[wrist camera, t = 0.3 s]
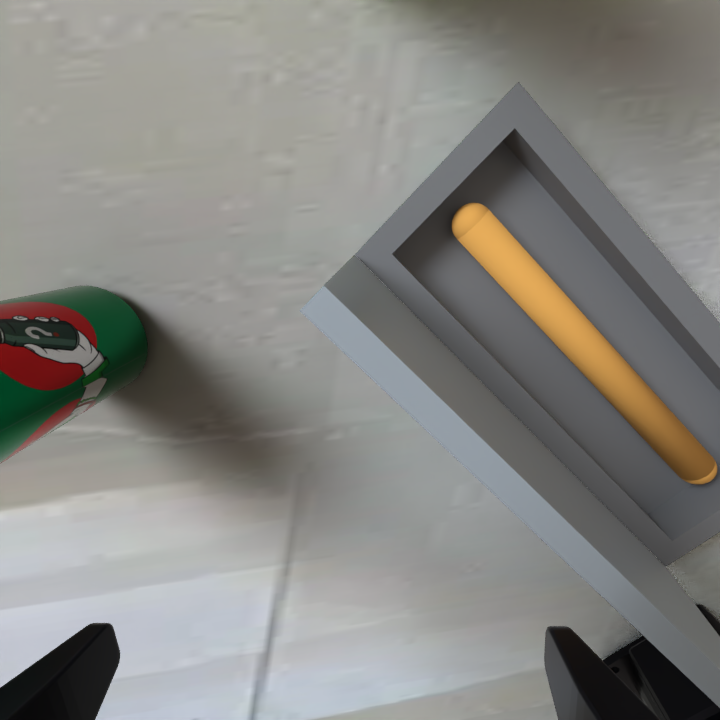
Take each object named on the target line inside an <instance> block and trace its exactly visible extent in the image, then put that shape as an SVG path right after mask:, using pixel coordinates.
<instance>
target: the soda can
mask: <svg viewBox="0 0 720 720" xmlns="http://www.w3.org/2000/svg"><path fill="white" fill-rule="evenodd" d="M147 351H148V344H147V338H146V334H145V331H144V328H143V325H142V323H141V321H140V319H139V318H138V316H137V315H136V313H135V312H134V311H133V310H132V308H131V307H130V306H129V305H128V304H127V303H126V302H124V301H123V300H122V299H121V298H119V297H118V296H116V295H115V294H113V293H111V292H109V291H107V290H104V289H101V288H98V287H93V286H75V287H70V288H65V289H59V290H54V291H49V292H44V293H39V294H34V295H29V296H24V297H18V298H13V299H8V300H3V301H0V463H2V462H4V461H5V460H7V459H9V458H10V457H12V456H13V455H15V454H17V453H18V452H20V451H21V450H23V449H25V448H26V447H28V446H30V445H31V444H33V443H34V442H36V441H38V440H39V439H41V438H43V437H44V436H46V435H47V434H49V433H51V432H52V431H54V430H55V429H57V428H59V427H60V426H62V425H64V424H65V423H67V422H68V421H70V420H72V419H73V418H75V417H76V416H78V415H80V414H81V413H83V412H85V411H86V410H88V409H89V408H91V407H93V406H94V405H96V404H97V403H99V402H101V401H102V400H104V399H106V398H107V397H109V396H110V395H112V394H114V393H115V392H117V391H119V390H120V389H122V388H123V387H125V386H127V385H128V384H130V383H131V382H132V381H134V380H135V379H136V378H137V376H138V375H139V374H140V373H141V371H142V369H143V368H144V365H145V362H146V358H147Z"/></svg>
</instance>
